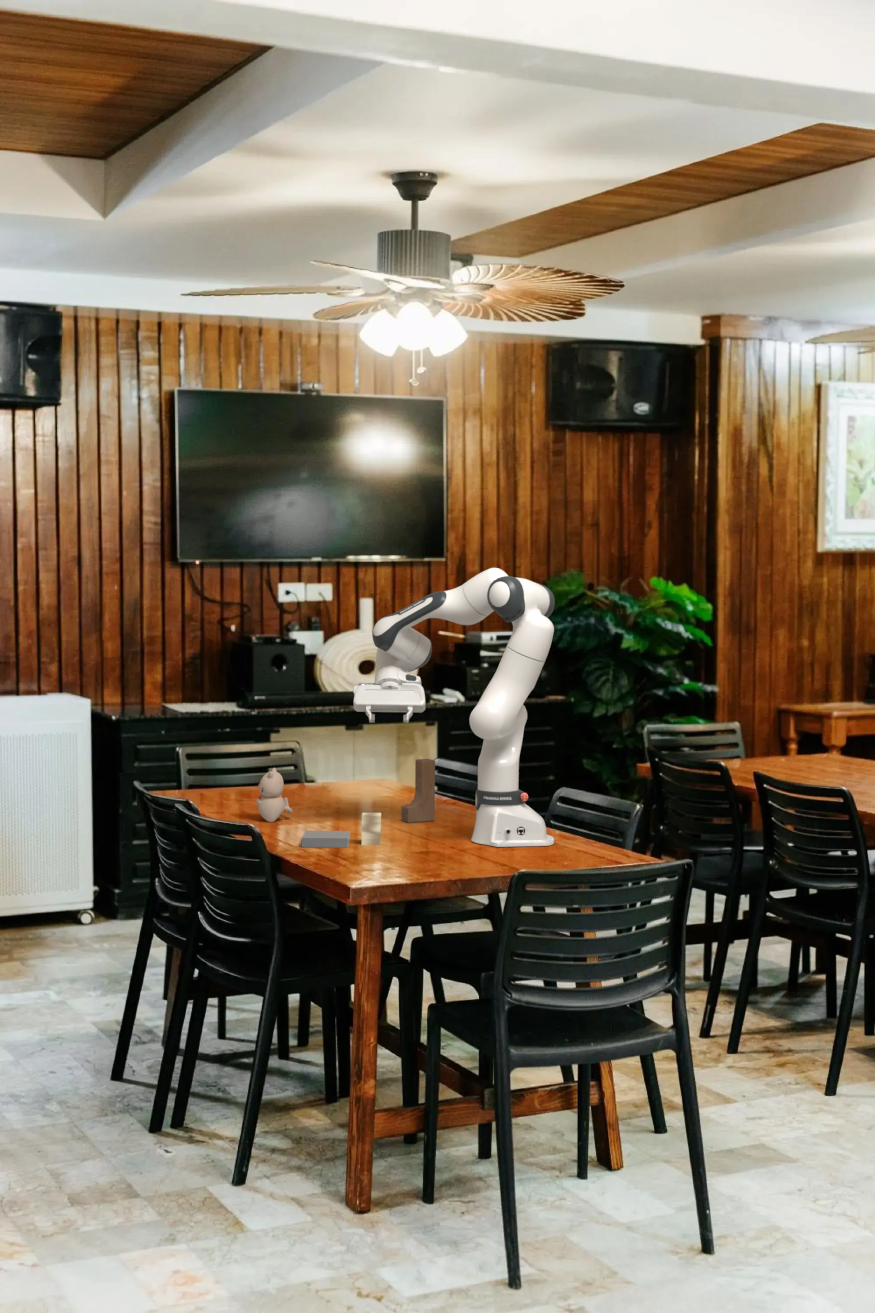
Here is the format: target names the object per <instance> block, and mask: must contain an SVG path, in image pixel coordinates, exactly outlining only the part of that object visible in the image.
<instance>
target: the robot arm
mask: <svg viewBox="0 0 875 1313" xmlns="http://www.w3.org/2000/svg"><path fill="white" fill-rule="evenodd" d="M555 600H556V599H555V596H554V594H553V592H552V590H550V589H549V587H547V586H546V585H544V584H542V583H538V582H534V581H533V580H529V579H527V578H524V577H514V576H511V575H508V574H507V573H506V572H505V571H504V570H503V569H501V568H498V567H490V568H488V569H485V570H484V571H481V572H480V573H478V574H476V575H474V576H473V577H471V578H470V579H468V580H467V581H466V582H464V583H463V584H462V585H460V586H457V587H455V588H452V589H449V590H447V589H446V590H439V591H434V592H432V593H429V594H428V595H426V596H424V597H422V598H420V599H419V600H416V601H414V602H413V603H411V604H409V605H407V606H405V607H404V608H402V609H400V610H398V611H397V612H394V613H391V614H388V615H385V616H383V617H381V618H380V619H378V620H377V621H376V622H375V623H374V625H373V628H372V631H371V632H372V634H371V636H372V641H373V644H374V646H375V647H376V648H377V649H376V655H375V669H376V671H375V673H374V674H375V675H374V682H368V683H367V682H365V683H364V682H359V683H358V684H355V685H354V686H353V688H352V690H353V691H352V693H353V695H354V697H353V710H354V711H356V712H357V713H358V712H359V713H360V712H361V713H362V712H363V713H365V715H366V716H367V717H368V721H369V723H375V722H376V721H375V720H376V717H375V716H376V714H375V713H405V714H403V717H402V718H403V720H402V723H403V724H409V721H410V719H411V717H412V716H413V715H414V714H413V713H423V712H424V711H425V710H426V695H425V689H424V687H423V686H422V679H421V677H420V676H419V675H415V674H411V672H413V671H416V670H418V669H420V668H422V667H424V666H425V665H426V664H428V662H429V661H430V659H431V656H432V652H433V646H432V641H431V640H430V638H428V637H427V636H425V635H424V634H423V633H420V632H419V631H418V630H416V629H414V628H413V627H414V626H416V625H417V624H419V623H421V622H423V621H425V620H428V619H440V620H443V621H448V622H452V623H455V624H456V625H457V624H458V625H462V626H472V625H475V624H477V623H480V622H481V621H483V620H484V619H486V618H487V617H488V616H490V615H491V614H492V613H493V612H495V613H496V614H498V616H500V618H501V619H502V620H503V621H505V623H511V624H512V632H511V636H510V637H509V640H508V642H507V644H506V646H505V649H504V652H503V655H502V657H501V659H500V661H499V664H498V667H497V669H496V671H495V673H494V675H493V676H492V678H491V680H490V681H489V683H488V685H487V686H486V688H485V689H484V690H483V693H482V695H481V697H480V698H479V701H478V702H477V704H476V705H475V707H474V708H473V710H472V711H471V713H470V715H469V719H468V720H469V726H470V729H471V731H472V732H473V734H474V735H475V736H477V737H479V738H480V739H482V740H483V742H482V746H481V751H480V754H479V757H478V761H477V788H476V789H475V810H476V814H475V815H476V816H475V823H474V827H473V832H472V835H471V839H470V841H471V842H472V843H473V842H474V843H475V844H480V845H486V846H487V845H488V846H492V847H496V848H497V847H498V848H499V847H500V848H502V847H503V848H508V847H509V848H510V847H544V846H545V847H546V846H547V847H548V846H552V845H554V844H555V837H554V836H552V835H550V834H547V833H548V832H547V826H546V823H545V820H544V818H543V817H542V816H541V815H540V814H539V813H538V812H537V811H535V810H534V809H533V808H531V807H530V806H529V805H527V804H526V801H528V800H529V795H528V793H527V792H524V791H523V790H521V789H519V780H520V779H519V777H520V776H519V775H520V772H519V770H520V755H521V750H522V746H523V738H524V731H525V726H526V723H527V720H528V711H527V709H526V705H524V704H525V701H526V700H527V698H528V696H529V695H530V694H531V692H532V691H533V690H534V688H535V686H536V684H537V681H538V680H539V677H540V674H541V673H542V672H541V671H542V669H543V667H544V665H545V662H546V661H547V660H546V659H547V657H548V654H549V652H550V650H551V649H550V648H551V645H552V641H553V636H554V632H555V626H554V624H553V622H552V621H551V620H550V619H549V617H550V616H552V613H553V612H554V609H555V607H556V606H555V605H556V601H555ZM408 672H409V673H408Z"/></svg>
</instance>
